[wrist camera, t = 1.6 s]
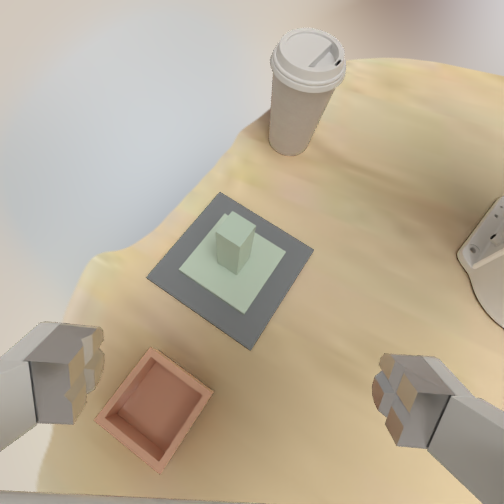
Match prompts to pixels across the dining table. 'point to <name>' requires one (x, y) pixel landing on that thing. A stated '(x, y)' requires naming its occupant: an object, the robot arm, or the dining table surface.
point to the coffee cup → (302, 86)
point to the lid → (233, 262)
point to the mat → (212, 307)
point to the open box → (154, 408)
